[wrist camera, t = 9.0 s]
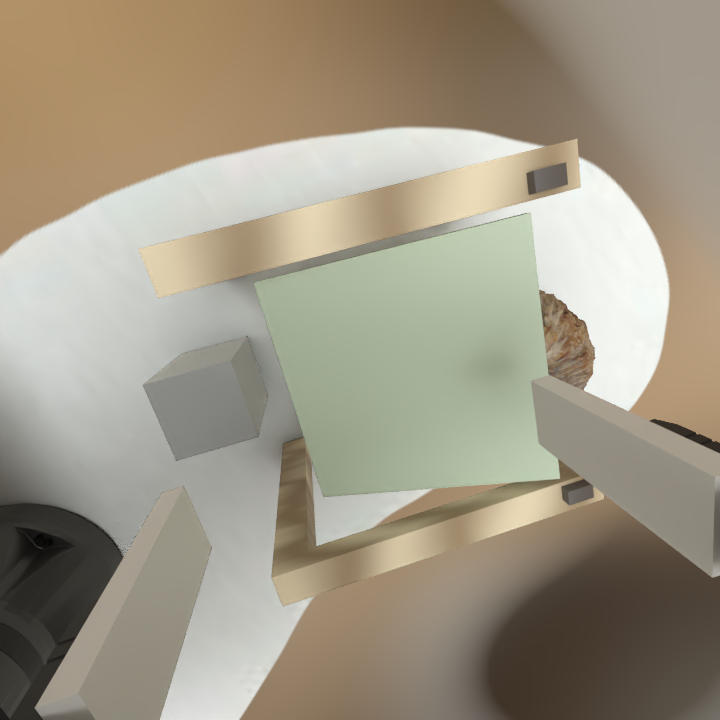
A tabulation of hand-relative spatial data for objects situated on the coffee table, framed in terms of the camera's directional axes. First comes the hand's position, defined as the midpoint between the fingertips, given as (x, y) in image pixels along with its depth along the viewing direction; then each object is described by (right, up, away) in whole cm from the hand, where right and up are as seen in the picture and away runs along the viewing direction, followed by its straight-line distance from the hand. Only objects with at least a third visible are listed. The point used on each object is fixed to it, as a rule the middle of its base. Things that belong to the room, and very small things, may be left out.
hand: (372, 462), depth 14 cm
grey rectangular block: (-11, +1, +14) cm, 18 cm away
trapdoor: (+3, +4, +10) cm, 11 cm away
